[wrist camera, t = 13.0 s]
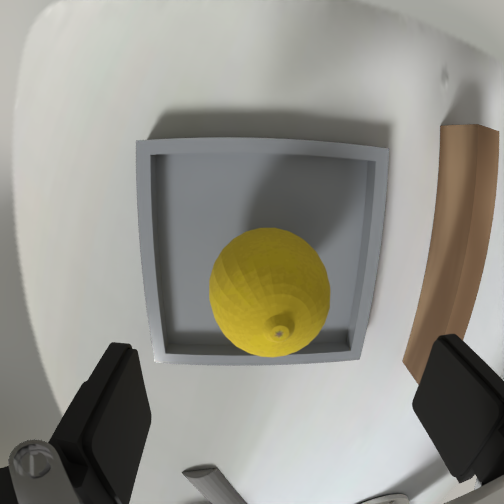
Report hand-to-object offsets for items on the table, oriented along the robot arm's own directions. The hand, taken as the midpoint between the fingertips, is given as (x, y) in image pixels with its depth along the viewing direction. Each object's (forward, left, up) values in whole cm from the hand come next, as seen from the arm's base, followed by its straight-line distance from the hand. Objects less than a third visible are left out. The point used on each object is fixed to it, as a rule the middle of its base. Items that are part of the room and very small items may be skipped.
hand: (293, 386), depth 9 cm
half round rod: (-21, +23, -12) cm, 33 cm away
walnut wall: (-8, -10, -11) cm, 17 cm away
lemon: (0, 0, -11) cm, 11 cm away
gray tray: (+1, 0, -11) cm, 11 cm away
